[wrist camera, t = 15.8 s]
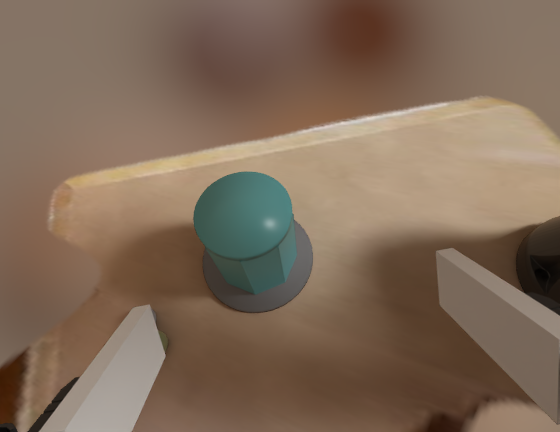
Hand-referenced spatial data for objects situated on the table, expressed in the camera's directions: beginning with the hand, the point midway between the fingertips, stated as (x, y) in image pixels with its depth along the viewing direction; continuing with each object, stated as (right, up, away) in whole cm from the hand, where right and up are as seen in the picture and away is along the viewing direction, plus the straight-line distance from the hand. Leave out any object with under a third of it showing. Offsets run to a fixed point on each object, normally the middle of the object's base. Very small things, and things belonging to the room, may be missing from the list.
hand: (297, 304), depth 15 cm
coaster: (-4, -1, +28) cm, 28 cm away
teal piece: (-4, -1, +28) cm, 28 cm away
